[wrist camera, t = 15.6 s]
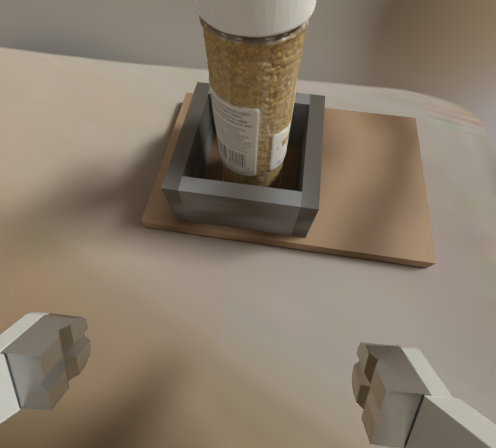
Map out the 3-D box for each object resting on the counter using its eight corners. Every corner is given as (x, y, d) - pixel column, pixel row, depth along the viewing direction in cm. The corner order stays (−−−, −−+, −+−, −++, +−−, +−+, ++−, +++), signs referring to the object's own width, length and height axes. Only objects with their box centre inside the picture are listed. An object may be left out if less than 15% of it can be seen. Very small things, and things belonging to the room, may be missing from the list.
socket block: (145, 226, 20) (115, 189, 16) (188, 101, 26) (176, 48, 22) (427, 267, 19) (482, 239, 15) (409, 126, 25) (445, 75, 20)
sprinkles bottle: (293, 189, 21) (357, -51, 9) (237, 214, 20) (221, -15, 8) (263, 146, 22) (281, -103, 10) (211, 167, 22) (164, -79, 9)
